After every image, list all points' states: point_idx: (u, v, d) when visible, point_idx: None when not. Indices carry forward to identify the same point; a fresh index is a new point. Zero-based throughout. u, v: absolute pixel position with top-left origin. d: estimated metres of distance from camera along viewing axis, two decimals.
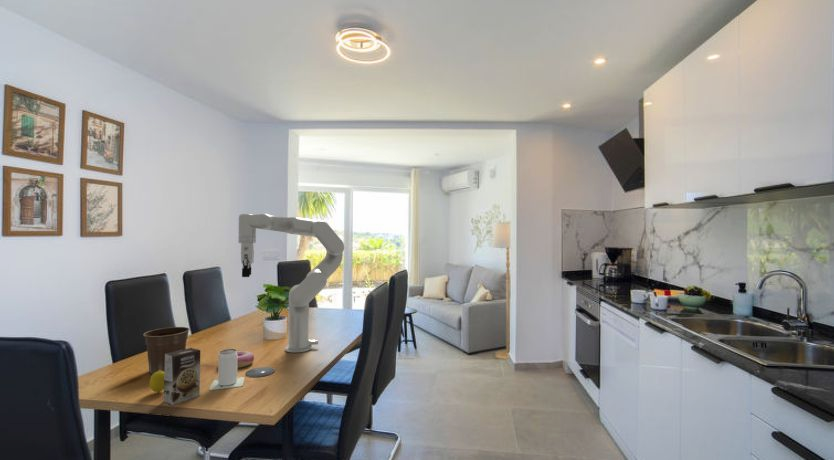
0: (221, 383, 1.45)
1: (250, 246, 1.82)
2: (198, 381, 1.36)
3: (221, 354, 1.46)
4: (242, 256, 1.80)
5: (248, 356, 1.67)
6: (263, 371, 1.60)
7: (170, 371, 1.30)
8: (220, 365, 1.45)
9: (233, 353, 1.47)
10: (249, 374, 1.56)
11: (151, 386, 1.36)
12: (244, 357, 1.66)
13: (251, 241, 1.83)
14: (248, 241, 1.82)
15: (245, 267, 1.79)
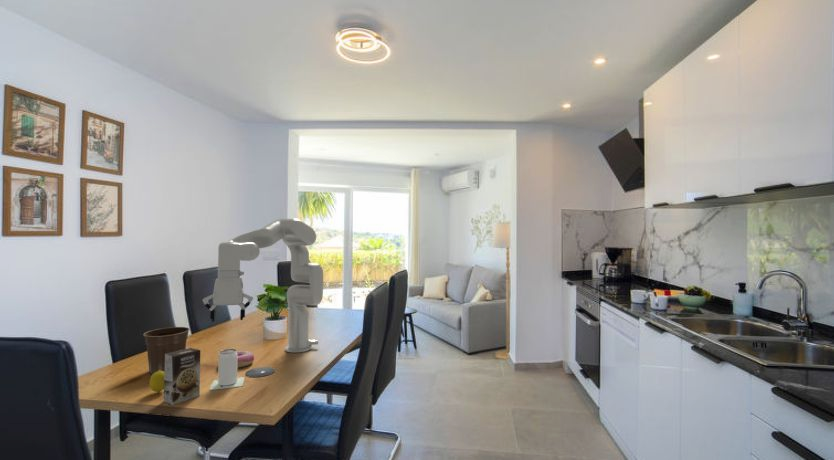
0: (221, 383, 1.45)
1: None
2: (198, 381, 1.36)
3: (221, 354, 1.46)
4: (242, 295, 1.48)
5: (248, 356, 1.68)
6: (263, 371, 1.60)
7: (170, 371, 1.30)
8: (220, 365, 1.45)
9: (233, 353, 1.47)
10: (249, 374, 1.56)
11: (151, 386, 1.36)
12: (244, 357, 1.66)
13: None
14: None
15: None
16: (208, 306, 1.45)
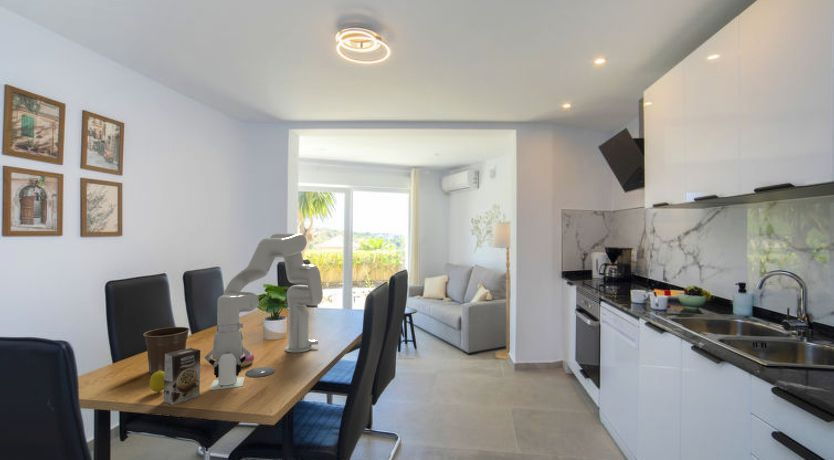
0: (221, 383, 1.45)
1: None
2: (198, 381, 1.36)
3: None
4: (241, 348, 1.48)
5: (248, 356, 1.68)
6: (263, 371, 1.60)
7: (170, 371, 1.30)
8: (220, 365, 1.45)
9: None
10: (249, 374, 1.56)
11: (151, 386, 1.36)
12: None
13: None
14: None
15: None
16: (212, 362, 1.45)
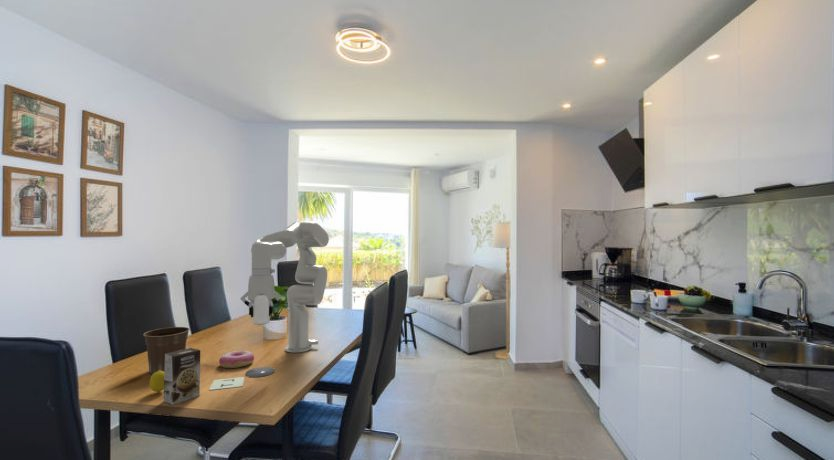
0: (256, 322, 1.57)
1: None
2: (198, 381, 1.36)
3: None
4: (273, 291, 1.61)
5: (248, 356, 1.68)
6: (263, 371, 1.60)
7: (170, 371, 1.30)
8: (255, 305, 1.58)
9: None
10: (249, 374, 1.56)
11: (151, 386, 1.36)
12: (244, 357, 1.66)
13: None
14: None
15: None
16: (247, 303, 1.58)
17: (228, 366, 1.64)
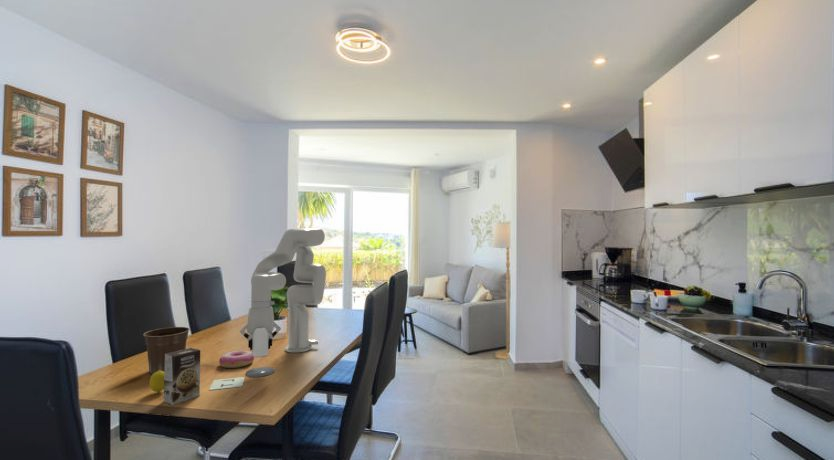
0: (255, 355, 1.57)
1: None
2: (198, 381, 1.36)
3: None
4: (273, 323, 1.60)
5: (248, 355, 1.68)
6: (263, 371, 1.60)
7: (170, 371, 1.30)
8: (254, 338, 1.57)
9: None
10: (249, 374, 1.56)
11: (151, 386, 1.36)
12: (244, 356, 1.67)
13: None
14: None
15: (273, 336, 1.62)
16: (246, 336, 1.58)
17: (228, 366, 1.64)
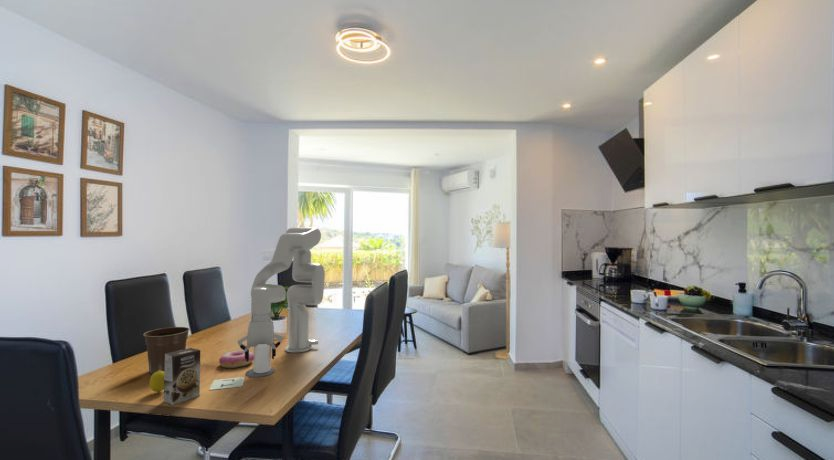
0: (257, 371, 1.57)
1: None
2: (198, 381, 1.36)
3: None
4: (273, 336, 1.60)
5: None
6: None
7: (170, 371, 1.30)
8: (256, 354, 1.58)
9: None
10: (249, 374, 1.56)
11: (151, 386, 1.36)
12: (244, 356, 1.67)
13: None
14: None
15: None
16: (243, 347, 1.57)
17: (228, 366, 1.64)
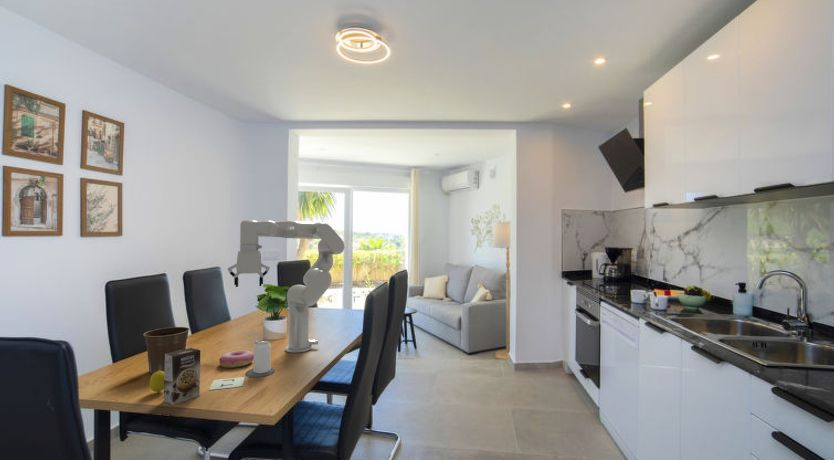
0: (257, 371, 1.57)
1: None
2: (198, 381, 1.36)
3: (256, 344, 1.58)
4: (260, 265, 1.75)
5: (248, 355, 1.69)
6: None
7: (170, 371, 1.30)
8: (256, 354, 1.58)
9: (267, 343, 1.59)
10: (249, 374, 1.56)
11: (151, 386, 1.36)
12: (244, 356, 1.67)
13: None
14: None
15: (264, 275, 1.77)
16: (232, 274, 1.72)
17: (228, 366, 1.64)
